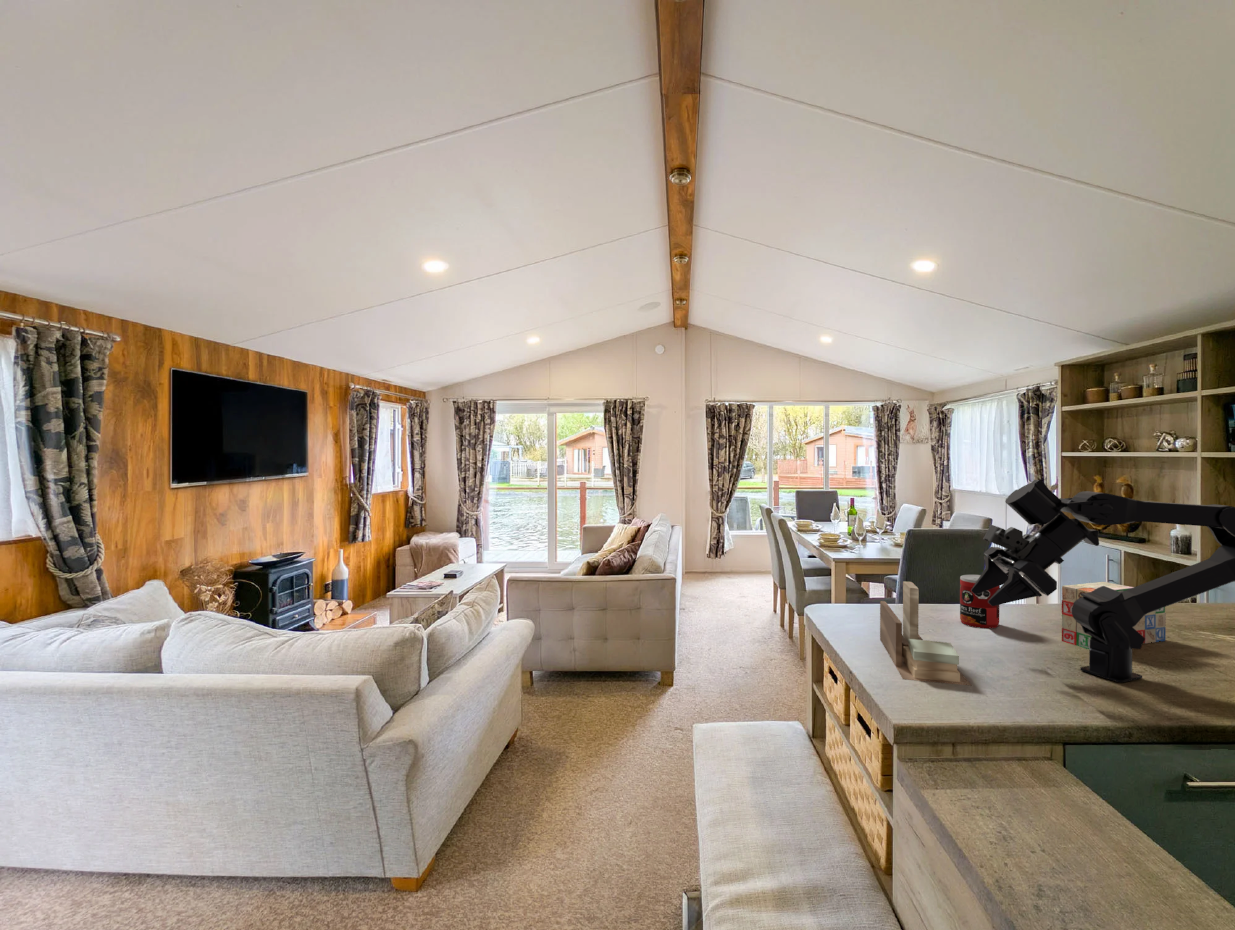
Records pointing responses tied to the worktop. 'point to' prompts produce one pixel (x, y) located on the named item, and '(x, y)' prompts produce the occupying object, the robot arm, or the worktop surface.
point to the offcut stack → (932, 660)
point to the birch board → (910, 610)
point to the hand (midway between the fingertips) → (981, 597)
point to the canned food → (977, 604)
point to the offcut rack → (901, 644)
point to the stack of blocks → (1074, 634)
